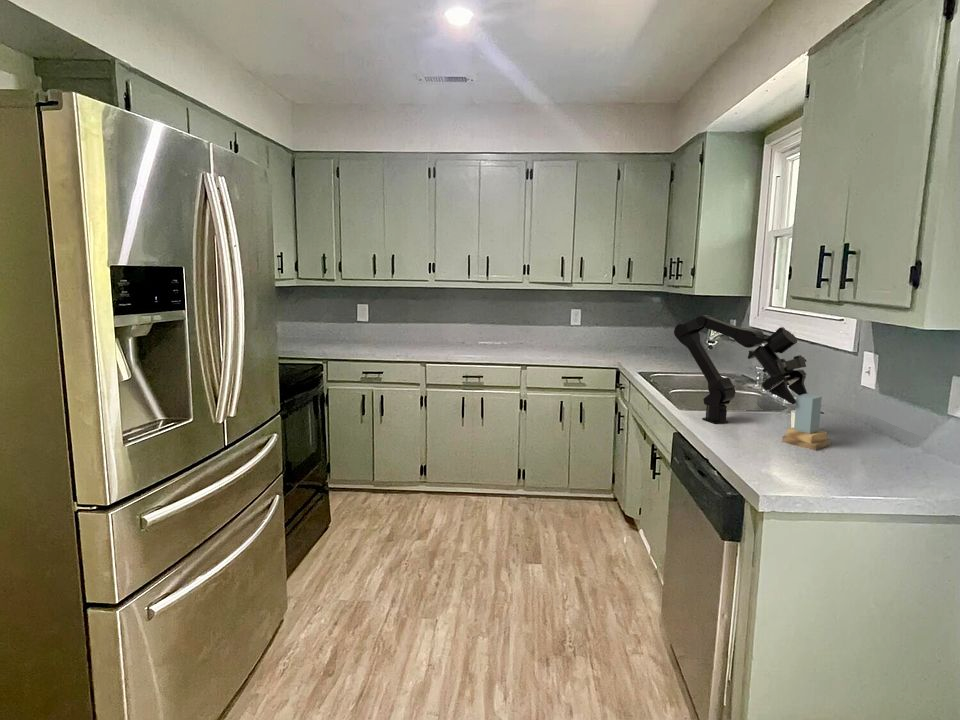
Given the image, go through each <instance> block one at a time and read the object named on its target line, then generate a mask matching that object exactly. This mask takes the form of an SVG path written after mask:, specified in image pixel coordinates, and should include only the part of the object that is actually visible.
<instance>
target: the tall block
mask: <svg viewBox="0 0 960 720" xmlns="http://www.w3.org/2000/svg"><path fill="white" fill-rule="evenodd" d="M795 401H796V403H795V409H794V410H795V423H794V430H797V431H801V432H805V433H809V434H810V433H813V432H817V431H819V430H820V423H821V421H820V420H821V419H820V418H821V410H822V396H820V395H813V394H811V393H810V394H809V393H807V394H802V395H798V394H797V395H796V397H795Z"/></svg>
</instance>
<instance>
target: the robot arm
mask: <svg viewBox="0 0 960 720" xmlns="http://www.w3.org/2000/svg"><path fill="white" fill-rule="evenodd" d="M705 329H708V330H711V331H713V332H715V333H718V334H721V335H724V336H726V337H729V338H731V339H733V340H734V341H735V342H736V343H737V344H739V345H741V346H742V347H744V348H749V349H750V348H755V349H754V350H752V349H751V350H748V356H747V360H752V359H756V361H758V363H759V364H760V366H761V367H762V368H763V369H762V372H763V373H766V374H768V375H769V377H768V378H767V379H766V380H764V381H763V382H762V388H763V390H764V391H765V392H767V391H768V393H772V394H773V395H775V396H777V397H778V398H781V399H783V400H784V401H786V402H788V403H789V404H791V405H796V398H795V397H794V396H793V394H792V393H791V391H792V392H793V393H794V394H796V395H797V396H798V395H802V394H808V392H807V389H806V386H805V379H806V378H807V375H808V374H807V372H806V371H805V370H804V369H800V368H806V367H807V365H806V364H807V359H806V358H805V357H804V356H802V355H801V354H799V355H794V356H793V359H789V360H786V359H785V358H780V357H779V356H778V354H784V353H785V352H786V351H788V350H789V349H790V348H792V347H793V346H794V345H797V343H798V339H797V337H796V336H795V335H794V333H792V332H791V331H789V330H787V329H786V328H785V327H784V326H781V327H778V328H777V329H776V330H775V332H773V333H772V334H770V335H768V334H764V332H763V331H762V330H759V329H755V328H750V327H749V328H748V327H741V326H738V325H737V326H736V325H734V324H732V323H729V322H726V321H723V320H720V319H719V318H716V317H712V316H711V315H707V314H705V315H698V317H696V318H693V319H692V320H689V321H687V322H684V323H679V324H677V325H676V326H675V327H674V329H673V335H674V337H675V338H676V339H677V340H678V342H679V343H681V344H682V345H683V346H685V348H687V349H688V351H689V352H690V354H691V356H692V358H693V359H694V361H695V362H696V365H697V366H698V367H699V369H700V371H701V372H702V374H703V376H704V378H705V380H706V382H707V391H708V392H709V394H708V395H707V396H705V397H704V398H702V400H703V404H704V405H706V406H705V407H706V409H705V410H706V411H705V417H702V418H701V420H703V421H706V422H708V423H712V424H714V425H715V424H716V425H717V424H724V423H729V420H728V419H727V412H728V411H727V407H728V406H727V405H729V404H730V403H731V402H732V401H731V400H733V399H734V398H735V396H736V389H735V388H736V386H735V385H734V384H733V383H732V380H731V378H730V377H723V376H722V375H721V374H720V373H719V370H718V369H717V367H716V366H715V364H714V362H713V361H712V359H711V357H710V356H709V354H708V352H707V351H706V350H705V348H704V346H703V344H702V342H701V334H700V332H703V330H705ZM763 344H764V345H763ZM762 345H763V346H762Z"/></svg>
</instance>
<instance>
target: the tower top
mask: <svg viewBox="0 0 960 720" xmlns="http://www.w3.org/2000/svg"><path fill="white" fill-rule="evenodd" d="M827 433H828V432H827V431H824V430H820V429H819V431H817V432H813V433H810V434H809V433H805V432H801V431H797V430H794V428H791V427H789V428H786V434H785V436H786V437H790V438H793V439H797V440H801V441H804V442H808V443H815V442H819V441H824V440H826V438H827Z"/></svg>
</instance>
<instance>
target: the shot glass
mask: <svg viewBox="0 0 960 720" xmlns="http://www.w3.org/2000/svg"><path fill="white" fill-rule="evenodd" d="M795 410H796V409H793V410H791V411H790V415H791V416H790V418H791V419H790V428H794V423H795Z"/></svg>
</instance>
